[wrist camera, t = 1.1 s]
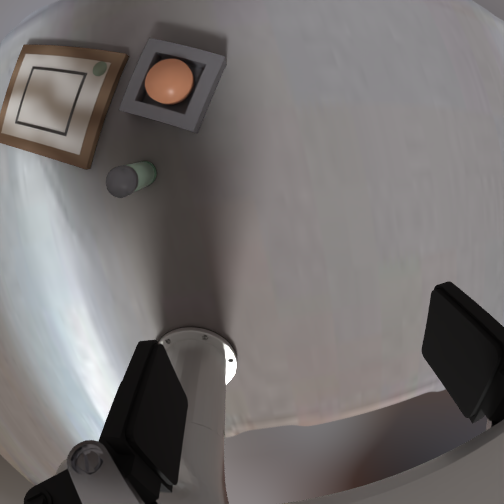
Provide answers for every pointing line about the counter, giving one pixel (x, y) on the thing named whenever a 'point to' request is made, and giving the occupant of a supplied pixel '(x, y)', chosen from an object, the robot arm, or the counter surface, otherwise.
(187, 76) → the button
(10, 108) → the drawing board
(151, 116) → the button housing
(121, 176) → the sage green marker
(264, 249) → the counter surface
